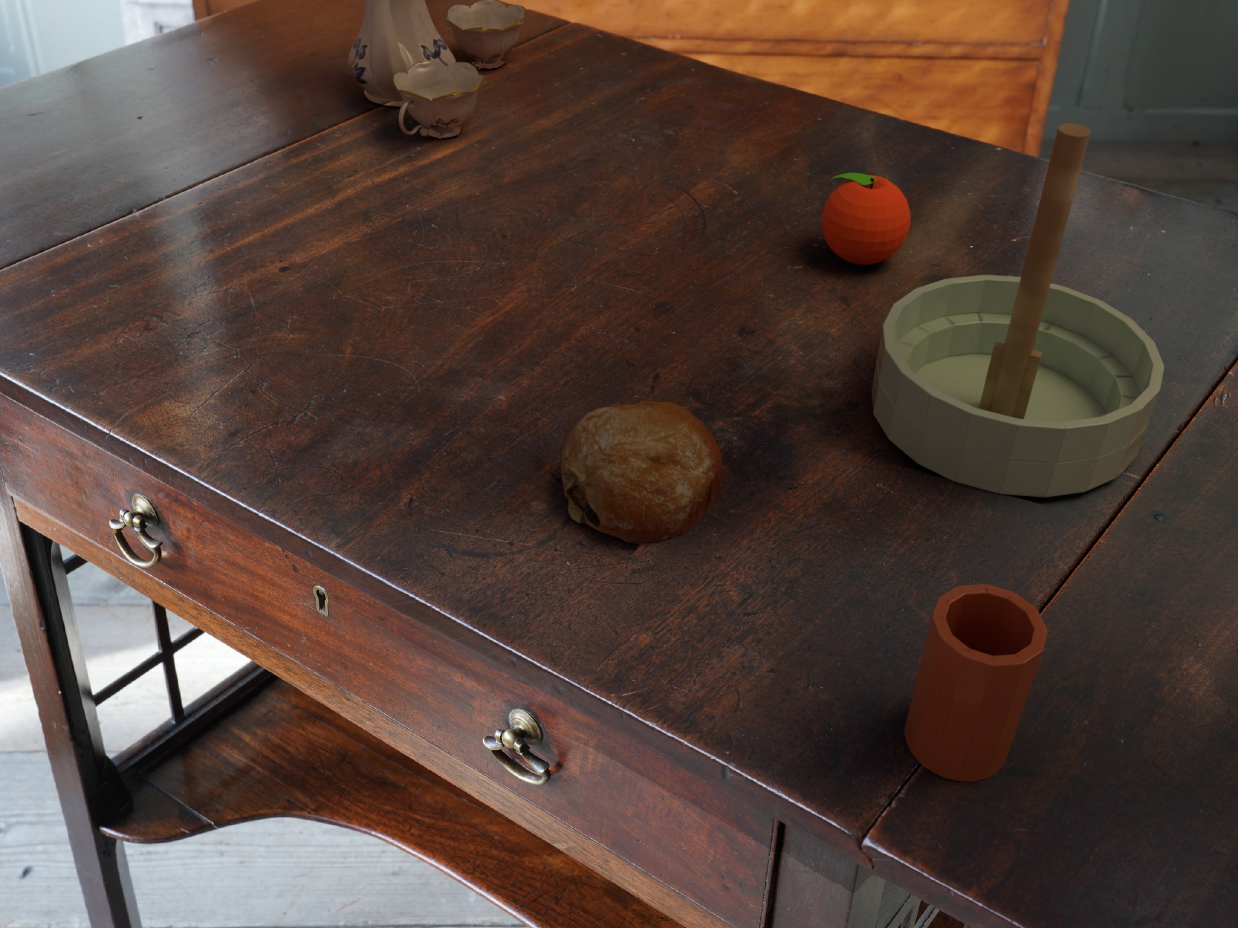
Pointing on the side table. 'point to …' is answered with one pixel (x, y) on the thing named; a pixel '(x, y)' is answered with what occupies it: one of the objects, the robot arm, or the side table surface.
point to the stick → (1035, 280)
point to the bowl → (1060, 399)
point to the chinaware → (430, 57)
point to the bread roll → (641, 471)
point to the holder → (973, 681)
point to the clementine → (865, 219)
